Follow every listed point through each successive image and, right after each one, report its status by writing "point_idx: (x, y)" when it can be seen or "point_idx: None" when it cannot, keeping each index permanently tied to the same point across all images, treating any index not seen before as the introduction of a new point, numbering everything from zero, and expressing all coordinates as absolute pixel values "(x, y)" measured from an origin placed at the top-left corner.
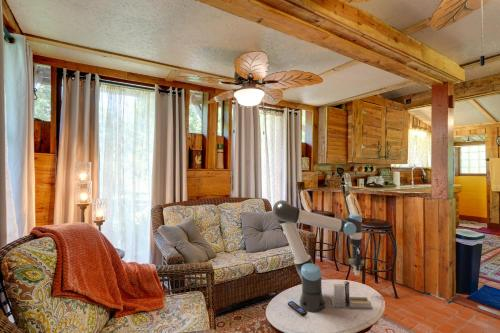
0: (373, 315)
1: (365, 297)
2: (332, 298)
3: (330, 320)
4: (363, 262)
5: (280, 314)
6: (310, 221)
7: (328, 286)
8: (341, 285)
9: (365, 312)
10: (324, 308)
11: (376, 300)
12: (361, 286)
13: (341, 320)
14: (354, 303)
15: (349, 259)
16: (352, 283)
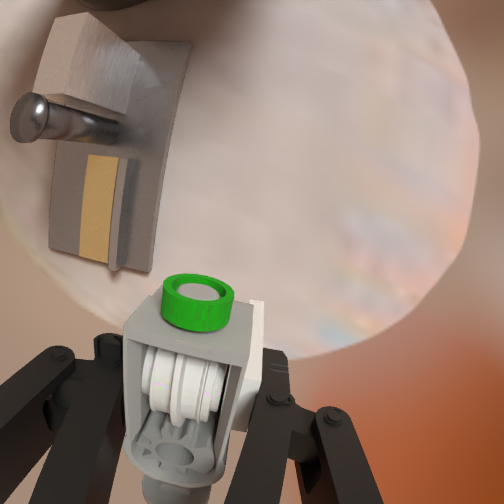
0: (12, 224)
1: (112, 260)
2: (163, 50)
3: (14, 34)
4: (144, 478)
5: None
6: None
7: (382, 97)
8: (45, 74)
9: (30, 198)
10: (87, 6)
11: None
12: (339, 328)
13: (3, 74)
14: (84, 168)
15: (189, 337)
16: (396, 290)
